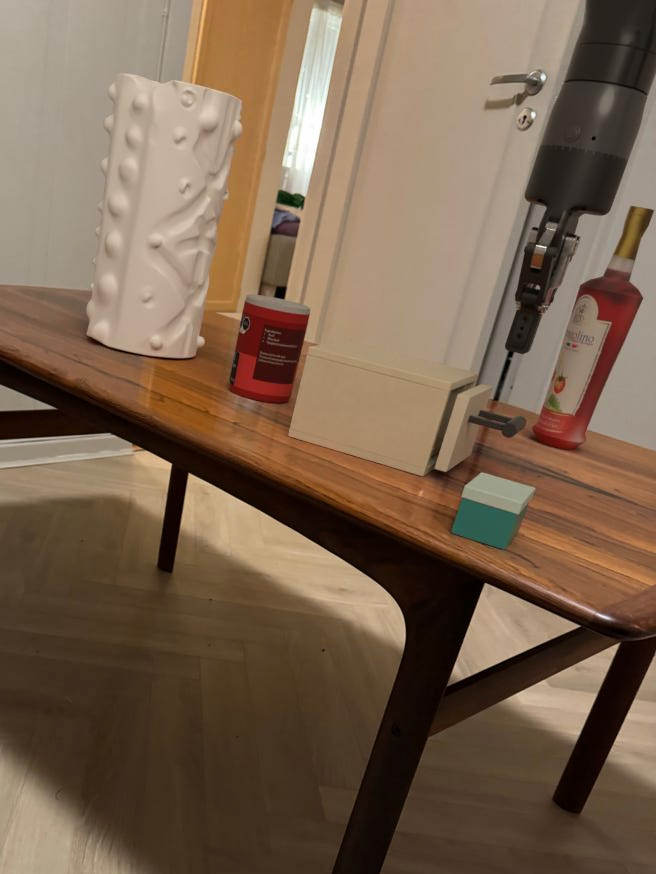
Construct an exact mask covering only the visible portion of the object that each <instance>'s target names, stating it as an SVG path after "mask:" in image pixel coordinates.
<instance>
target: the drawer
mask: <svg viewBox="0 0 656 874" xmlns="http://www.w3.org/2000/svg"><path fill="white" fill-rule="evenodd" d="M466 386H467V384H466V385H464V386H461V387H459V388H456V389H454V390H451V392H450V396H449V399H448V402H447V405H446V409H445V412H444V415H443V418H442V421H441V425H440V428H439V431H438V434H437V438H436V441H435V444H434V447H433V451H432V454H431V456H433V455H434V454H436V453H438V452H439V451H440V452H439V455H438V458H437V462H436V465H435V469H434V470H437V471H440V472H444V473H447V472H449V471H450V470H451V469H453V468H454V467H455V466H457V465H458V464H460V463H461V462H462V461H464V460H465V459H467V458H468V457H470V456H471V455H472V452H473V449H474V446H475V443H476V440H477V436H478V434H479V430H480V428H481V426H482V427H485V428H488V429H492V430H496V431H499V432H501V434H502V436H503V437H505V438H508V439H509V438H513V437H515V436H516V435H517V434H518V433H519V432H522V430H524V428H526V427H527V423H528V422H527V419H526V418H525V416H523V415H517V416H515V417H509V416H506V415H502V414H498V413H494V412H491V411H487V407H488V404H489V400H490V398H491V394H492V390H493V386H491V385H487V384H483V383H482V384H478V385H475V387H474V388H472V389H469V390H467V391H465V389H466Z"/></svg>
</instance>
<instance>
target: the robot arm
mask: <svg viewBox="0 0 656 874" xmlns="http://www.w3.org/2000/svg"><path fill="white" fill-rule="evenodd" d="M584 1H585V2H584V11H583V12H584V13H583V19H582V24H581V28H580V31H579V33H578V37H577V39H576V42H575V44H574V48H573V51H572V53H571V57H570V60H569V63H568V66H567V69H566V73H565V76H564V77H563V78H564V79H563V84H562V85H561V88H560V90H559V92H558V95H557V97H556V98H555V99H556V100H555V102H554V104H553V106H552V108H551V111H550V113H549V116H548V118H547V122H546V125H545V129H544V131H543V135H542V139H541V140H540V144H539V148H538V150H537V153H536V157H535V160H534V163H533V166H532V170H531V173H530V176H529V178H528V181H527V184H526V188H525V190H524V191H525V192H524V199H525V200H526V201H527V202H528V203H530V204H534V205H537V206H541V207H545V210H544V212H543V215H542V218H541V220H540V223H539V225H538V227H536V226H532V227H531V229H530V232H529V235H528V238H527V242H526V245H525V247H524V249H523V252H524V253H523V257H522V263H521V268H520V272H519V277H518V281H517V282H518V283H517V287H516V291H515V294H514V302H515V309H516V311H515V314H514V316H513V320H512V323H511V326H510V329H509V331H508V335H507V338H506V341H505V343H504V348H505V350H506V351H508V352H511V353H516V354H520V355H525V354H527V353H528V354H529V352H530V351H531V350H532V347H533V343H534V341H535V338H536V335H537V332H538V329H539V326H540V323H541V320H542V318H543V314H546V311H548V310H549V307H550V306H551V305H552V304H553V302H554V299H555V295H556V293H557V291H558V289H559V288H560V287H561V286H562V284H563V281H564V278H565V276H566V272H567V270H568V268H569V264H570V263H571V262H572V260H573V257H574V256H575V255H576V253H577V249H578V247H579V246H580V245H579V244H580V242H581V237H582V236H580V235H578V234H576V231H577V227H578V224H579V220H580V218H581V216H583V215H590V216H600V217H601V216H603V217H604V216H606V215H607V214H609V213H610V211H611V210H612V207H613V205H614V201H615V199H616V197H617V193H618V190H619V188H620V186H621V183H622V179H623V177H624V174H625V171H626V168H627V165H628V162H629V160H630V157H631V154H632V152H633V148H634V145H635V143H636V139H637V137H638V135H639V132H640V129H641V126H642V120H643V117H644V113H645V108H646V105H647V101H648V96H649V94H650V92H651V89H652V86H653V83H654V81H655V78H656V0H584ZM537 286H538V287H539V289H538V288H537Z"/></svg>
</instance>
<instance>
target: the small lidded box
mask: <svg viewBox="0 0 656 874" xmlns="http://www.w3.org/2000/svg"><path fill="white" fill-rule="evenodd" d="M535 491H536V487H534V486H531V485H527V484H524V483H521V482H517V481H515V480H510V479H507V478H503V477H500V476H497V475H493V474H489V473H486V472H483V471H481V472H480V473H479V474H477V475H476V476H475V477H474V478H473V479H471V480H470V481H469V482H467V484H465V485H464V486H463V490H462V492H461V496H460V498H461V499H460V503H459V507H458V509H457V512H456V515H455V518H454V521H453V523H452V528H451V530H450V533H451V534H453V535H456V536H458V537H463V538H465V539H469V540H471V541H475V542H478V543H481V544H484V545H488V546H491V547H493V548H497V549H500V550H503V551H505V550H506V549H507V548H508V546H509V545H510V543H511V542H512V541H514V538H515V537H516V536H517V535H518V533H519V531H520V528H521V526H522V523H523V520H524V518H525V515H526V512H527V509H528V507H529V503H530V501H531V500H532V499H533V497H534V494H535Z"/></svg>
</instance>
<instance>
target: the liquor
mask: <svg viewBox="0 0 656 874" xmlns="http://www.w3.org/2000/svg"><path fill="white" fill-rule="evenodd" d="M654 213H655V209H652V208H647V207H642V206H637V205H630V206H629V208H628V211H627V214H626V217H625V220H624V222H623V228H622V233H621V236H620V238H619V240H618V243H617V245H616V247H615V249H614V251H613V253H612V255H611V257H610V260H609V262H608V264H607V266H606V269H605V270H604V273H603V275H601V276H598V277H593V278H591V279H588V280H586V281H585V282H583V283H581V284H579V287H578V291H577V294H576V296H575V301H574V303H573V307H572V310H571V313H570V316H569V319H568V323H567V326H566V329H565V331H564V335H563V339H562V343H561V347H560V349H559V354H558V357H557V361H556V363H555V367H554V370H553V373H552V376H551V379H550V383H549V385H548V389H547V392H546V395H545V398H544V401H543V404H542V408H541V410H540V412H539V416H538V419H537V422H536V423H534V424H533V425H532V426H531V429H532V431H533V433H534V435H535V437H536V439H537V441H538V442H539V443H541V444H544V445H546V446H550V447H553V448H555V449H560V450H568V451H571V450H574V449H576V448H578V447H580V446H581V445H583V444H584V443H586V442H587V437H586V432H587V429H588V428H589V425H590V423H591V419H592V417H593V416H594V413H595V411H596V407H597V406H598V403H599V400H600V398H601V397H602V394H603V391H604V389H605V387H606V384H607V382H608V379H609V377H610V375H611V372H612V370H613V368H614V366H615V364H616V362H617V360H618V357H619V355H620V353H621V350H622V348H623V346H624V344H625V342H626V339H627V338H628V335H629V333H630V331H631V329H632V328H631V327H632V325H633V324H634V321H635V319H636V317H637V314H638V311H639V309H640V307H641V304H642V302H643V300H644V296H643V295H642V293H641V292H640V290H639V288H638V287H636V286H635V285H634V284H633V283H632V282H630V281H631V277H632V274H633V270H634V267H635V262H636V259H637V256H638V252H639V248H640V244H641V242H642V238H643V237H644V235H645V233H646V231H647V229H648V227H649V226H650V223H651V221H652V218H653V216H654Z"/></svg>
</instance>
